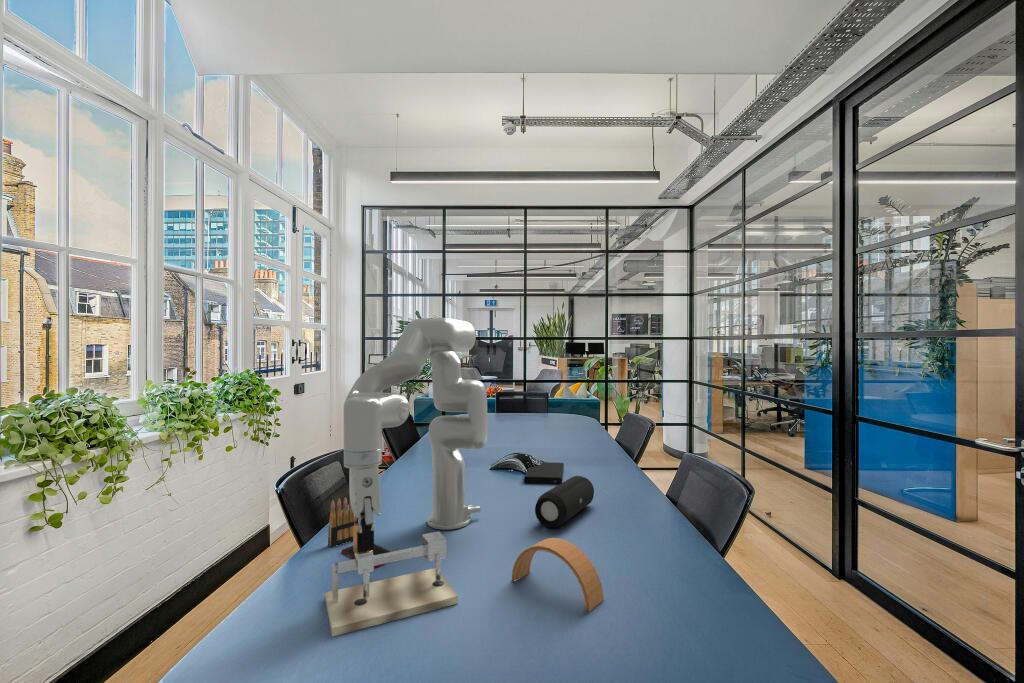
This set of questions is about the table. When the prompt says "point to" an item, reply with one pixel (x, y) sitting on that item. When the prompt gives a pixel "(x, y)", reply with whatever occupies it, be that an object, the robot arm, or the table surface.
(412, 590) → the hole plate
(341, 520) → the ammunition clip
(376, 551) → the cell phone
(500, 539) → the table surface
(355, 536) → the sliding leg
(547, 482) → the external hard drive
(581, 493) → the portable speaker
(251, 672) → the table surface
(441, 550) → the frame
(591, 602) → the arch
